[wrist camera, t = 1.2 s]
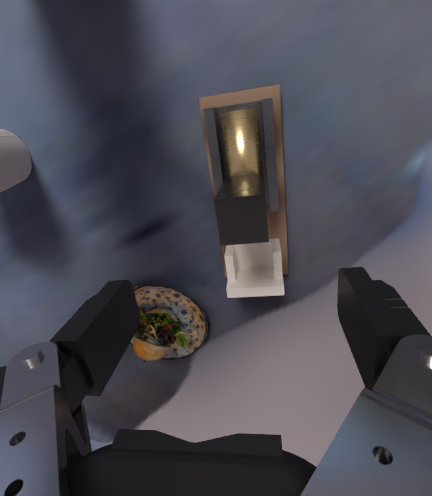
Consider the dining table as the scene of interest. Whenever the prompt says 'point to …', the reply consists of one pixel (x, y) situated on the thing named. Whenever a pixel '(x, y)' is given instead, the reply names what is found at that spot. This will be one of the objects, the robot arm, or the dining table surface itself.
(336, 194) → the dining table surface
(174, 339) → the burger
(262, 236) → the dark grey block
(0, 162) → the dixie cup
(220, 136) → the outer sleeve
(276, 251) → the far socket
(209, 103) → the base board
